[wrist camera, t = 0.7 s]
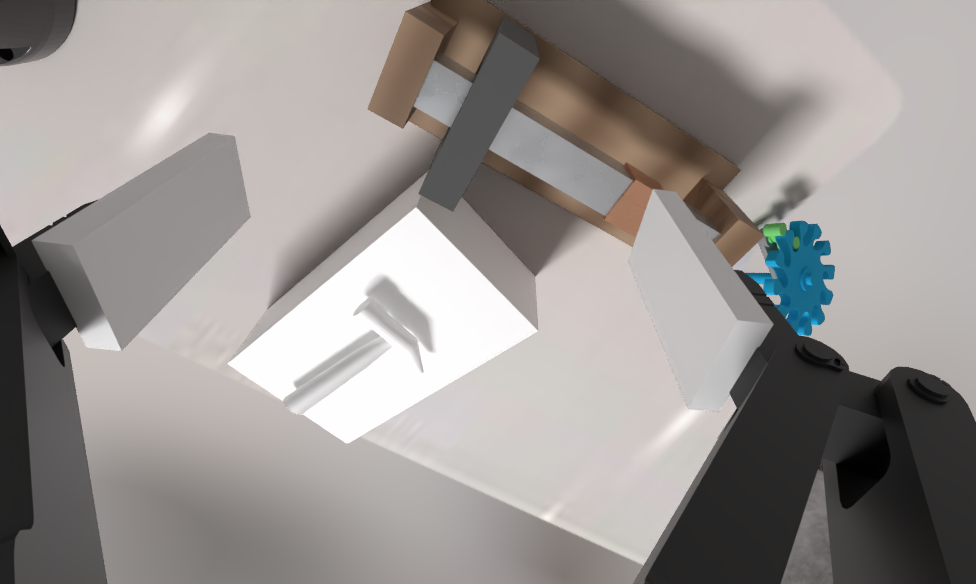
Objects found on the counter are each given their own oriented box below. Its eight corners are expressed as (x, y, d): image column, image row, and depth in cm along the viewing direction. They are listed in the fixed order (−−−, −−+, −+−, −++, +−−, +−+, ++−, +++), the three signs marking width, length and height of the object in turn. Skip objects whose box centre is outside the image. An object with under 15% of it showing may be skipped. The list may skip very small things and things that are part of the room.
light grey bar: (404, 88, 32) (393, 99, 29) (425, 38, 30) (415, 45, 27) (688, 252, 38) (702, 275, 35) (720, 219, 36) (737, 241, 33)
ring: (440, 143, 37) (418, 193, 29) (504, 15, 32) (499, 32, 24) (467, 158, 38) (453, 211, 29) (534, 35, 32) (539, 58, 24)
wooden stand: (387, 104, 37) (356, 137, 30) (441, -29, 32) (420, -27, 25) (656, 256, 44) (683, 313, 37) (737, 167, 39) (788, 212, 32)
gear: (852, 288, 43) (806, 362, 39) (784, 286, 48) (737, 352, 44) (818, 185, 39) (762, 256, 36) (748, 195, 44) (694, 258, 41)
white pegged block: (535, 275, 46) (539, 349, 37) (368, 383, 56) (340, 462, 47) (433, 165, 40) (410, 221, 31) (268, 308, 50) (214, 382, 41)
